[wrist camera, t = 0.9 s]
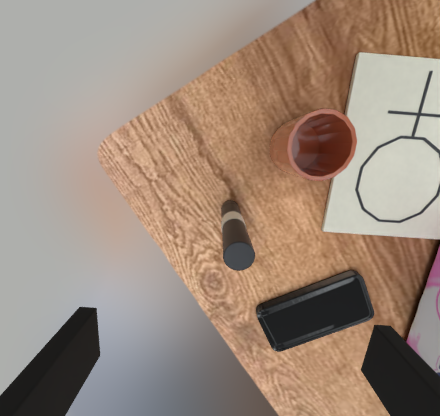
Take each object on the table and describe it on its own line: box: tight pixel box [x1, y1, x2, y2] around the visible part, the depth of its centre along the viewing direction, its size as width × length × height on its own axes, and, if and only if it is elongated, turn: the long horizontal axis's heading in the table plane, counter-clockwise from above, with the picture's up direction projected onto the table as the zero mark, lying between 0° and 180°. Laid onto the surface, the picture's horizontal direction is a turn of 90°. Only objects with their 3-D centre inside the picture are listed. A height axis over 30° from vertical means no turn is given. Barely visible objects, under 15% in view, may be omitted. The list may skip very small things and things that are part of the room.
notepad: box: [321, 52, 440, 240], centre depth 26 cm, size 20×16×1 cm
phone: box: [256, 271, 374, 352], centre depth 31 cm, size 8×1×15 cm
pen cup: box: [270, 109, 357, 181], centre depth 22 cm, size 6×6×7 cm
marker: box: [221, 200, 255, 271], centre depth 21 cm, size 2×2×13 cm
